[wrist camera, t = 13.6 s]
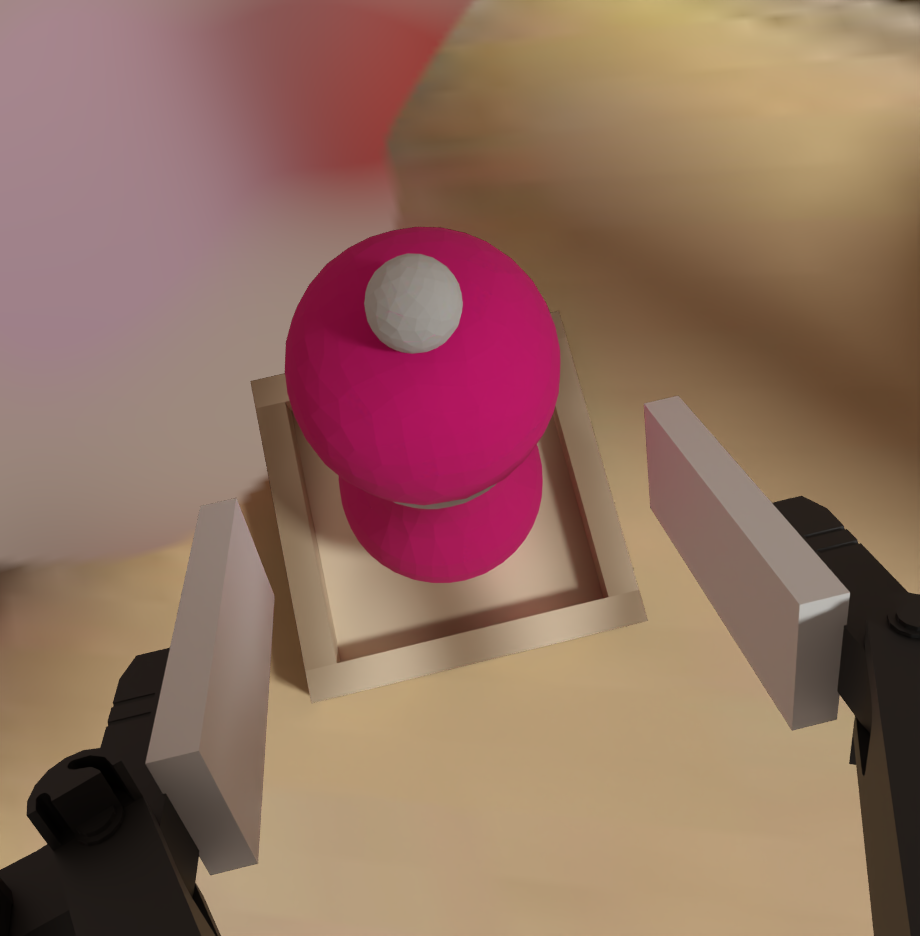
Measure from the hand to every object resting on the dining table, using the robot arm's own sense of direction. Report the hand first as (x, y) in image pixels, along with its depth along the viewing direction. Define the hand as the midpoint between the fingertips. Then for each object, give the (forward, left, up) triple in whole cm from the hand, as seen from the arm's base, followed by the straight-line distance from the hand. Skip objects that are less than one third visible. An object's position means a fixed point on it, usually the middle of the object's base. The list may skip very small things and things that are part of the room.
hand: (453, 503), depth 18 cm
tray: (0, -3, -16) cm, 17 cm away
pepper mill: (0, -3, -16) cm, 16 cm away
